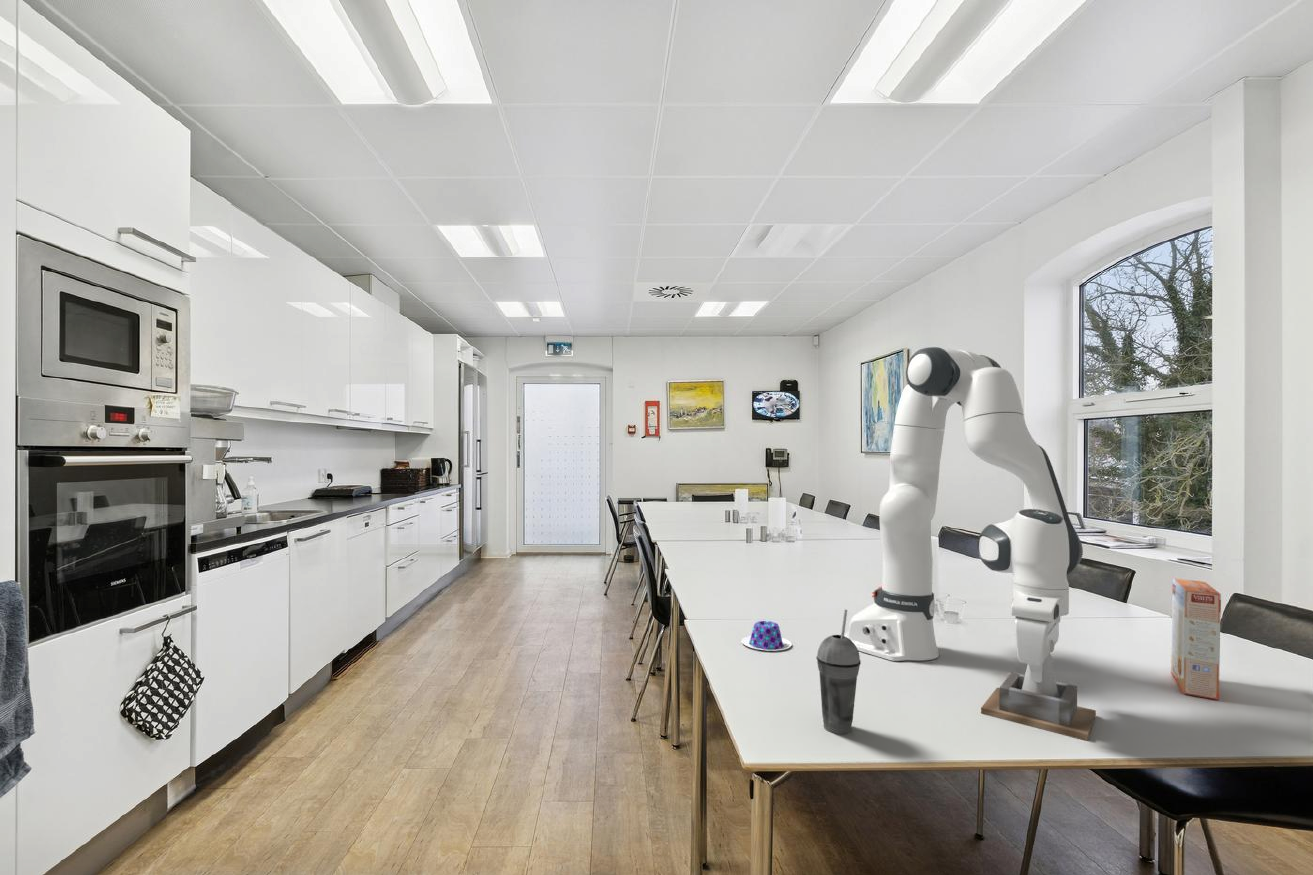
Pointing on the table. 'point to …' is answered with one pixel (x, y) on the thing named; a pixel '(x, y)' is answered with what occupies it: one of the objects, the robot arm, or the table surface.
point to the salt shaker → (1048, 681)
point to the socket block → (1041, 708)
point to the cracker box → (1196, 638)
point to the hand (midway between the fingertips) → (1039, 677)
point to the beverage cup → (838, 680)
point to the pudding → (766, 637)
